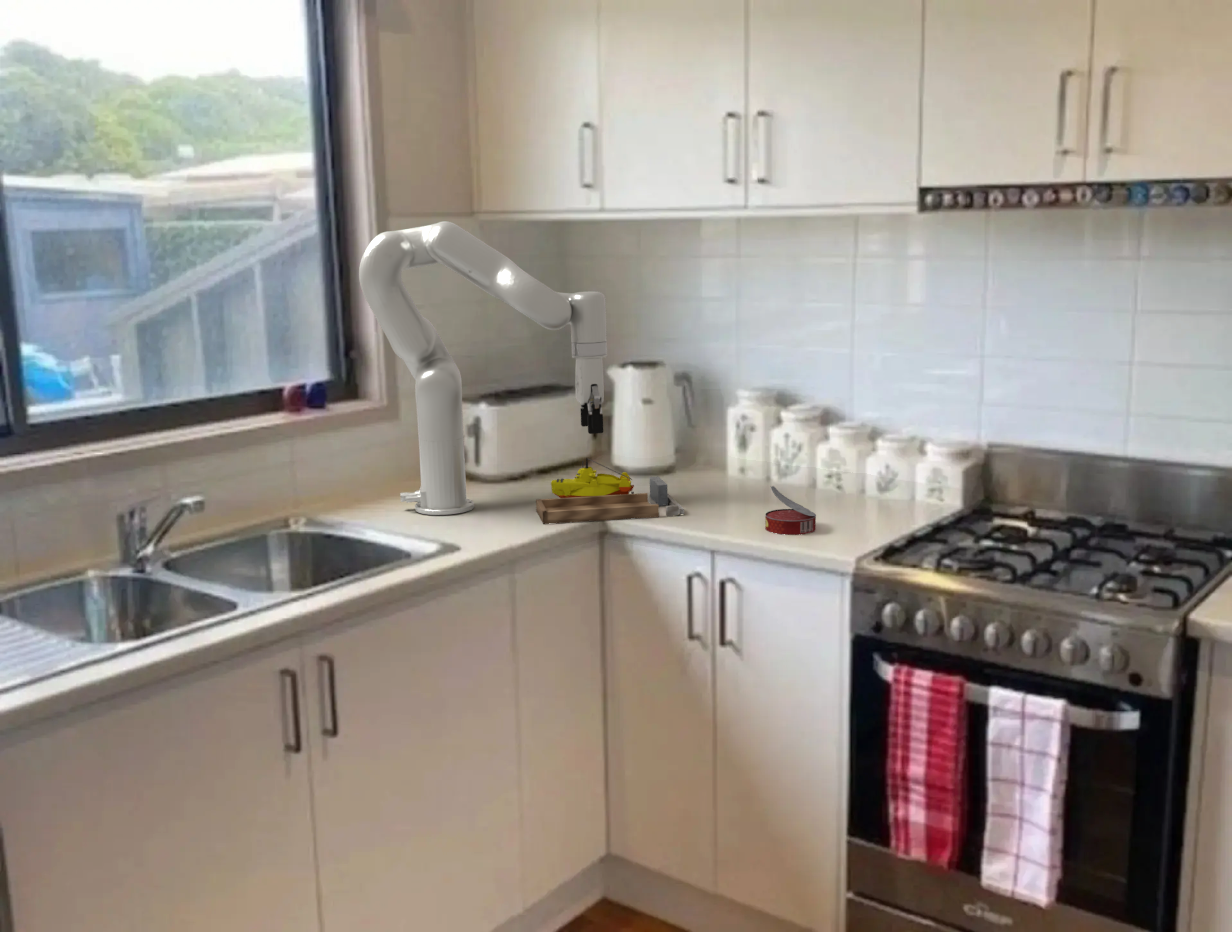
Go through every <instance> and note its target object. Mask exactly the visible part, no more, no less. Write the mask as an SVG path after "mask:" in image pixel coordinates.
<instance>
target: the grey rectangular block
mask: <svg viewBox="0 0 1232 932" xmlns="http://www.w3.org/2000/svg"><path fill="white" fill-rule="evenodd" d="M668 494H669V493H668V484H667V483H666V481H664V480H663V479H662V478H661V477H660V476H649V498H651V500H653V502H654V503H655V504H658V505H659V507H660V506H662V507H663V506H669V505H668V504H669V503H668Z"/></svg>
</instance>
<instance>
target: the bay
mask: <svg viewBox="0 0 1232 932" xmlns="http://www.w3.org/2000/svg"><path fill="white" fill-rule="evenodd" d="M648 495H649V494H648V492H641V493H640V492H639V493H634V494H631V493H629V494H620V495H604V496H587V497H570V498H560V497H558V498H556V497H555V498H540V499H539V498H537V499H535V505H536V506H535V508H536V509H535V510H536V511H535V512H536V513H537V515H538V517H539V519H540V521H541V522H542V524H543V525H550V524H549V523H556V524H571V523H570V522H572V523H586V522H603V521H615V520H616V521H617V520H632V519H631V518H635V519H648V518H659V517H660V509H659V507H660V506H659V505H658V504H656V503H655V504H651V503H649V496H648ZM668 504H669V505H665V510H666V511H665V514H666V515H667V517H673V515H680V514H684V515H685V508H684V507H683V506H682V505H681V504H679V502H677V501H676V500H675V499H674V498H673V496H671V495H670V494H669V493H668ZM666 515H665V516H666Z"/></svg>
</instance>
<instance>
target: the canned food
mask: <svg viewBox="0 0 1232 932" xmlns="http://www.w3.org/2000/svg"><path fill="white" fill-rule="evenodd" d="M770 490H771V491H772V494H774V496H775V497H776V498H777V499H778V500H779V501H780V502H781V503H782V504H784V505H785V506H786V507H788V508H779V509H772V510H770V511H767V512H766V513H765V515H764V517H765V519H764V520H765V521H764V522H765V523H764V524H765V527H764V528H765V530H766V531H767V532H769V533H771V532H773V533H772V534H775V533H777V535H782V534H785V536H800V535H801V534H802V535H806V534H811V533H813V532H815V531H816V528H817V527H816V526H817V525H816V524H817V523H816V522H817V521H816V520H817V514H816V512H813V511H811V509H809V508H806V507H805V506H803V505H801V504H799V503H797V502H796V501H793V500H792V499H790V498H789V497H786V495H784V494H783V493H781V492H780V491H779V490H778V489H777V488H776V487H775V486H774V485H772V486H770ZM799 534H800V535H799Z"/></svg>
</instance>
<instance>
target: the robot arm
mask: <svg viewBox="0 0 1232 932" xmlns="http://www.w3.org/2000/svg"><path fill="white" fill-rule="evenodd" d="M438 264H439V265H440V264H441V265H443V267H446V268H447V269H449V270H451V271H452V272H454V273H456V274H457V275H458V276H460V277H462V278H463V279H465V280H467V281H468V282H470V283H471V284H472V285H474V286H476V287H477V288H479V289H480V290H482V291H484V292H485V293H487V294H488V295H490V296H491V297H493V298H495V299H498V300H500V301H502V302H503V303H505V304H507V305H508V306H510V307H511V308H513V309H515V310H516V311H518V312H519V313H521V315H524V316H526V317H527V318H529V319H530V320H532V321H534V322H535V323H536V324H537V325H539V326H541V327H542V328H545V329H547V330H548V331H549V330H551V331H557V330H561V329H563V328H565V327H566V326H567V325H570V335H571V336H570V340H571V341H570V342H571V344H570V345H571V358H572V359H575V370H574V371H575V374H574V375H575V378H574V379H575V382H574V384H575V389H574V390H575V396H574V397H575V400H576V401H577V403H579V404H580V425H581V427H587V432H588V434H591V435H594V434H595V435H596V434H603V433H604V414H603V408H602V407H603V406H602V404H603V403H604V402H605V401H604V400H605V399H604V398H605V397H604V395H605V394H604V392H605V391H604V390H605V389H604V388H605V387H604V384H605V383H604V364H603V358H604V359H605V358H607V357H608V345H607V344H608V343H607V342H608V340H607V313H606V312H607V310H606V305H607V304H606V295H604V293H602V292H600V291H578V292H577V291H576V292H574V293H573V292H572V293H571V292H561V291H560V292H558V291H555V290H553V289H552V288H551V287H549V286H547V285H546V284H545V283H543V282H541V281H540V280H538V279H536V278H535V277H534V276H532V275H531V274H529V273H528V272H526V271H524V270H523V269H522V268H521V267H519V266H518V265H517V264H516V263H515V262H514V261H513V260H512V259H510V258H509V257H508V256H506V255H504V254H503V253H501V252H500V251H498V250H497V249H495V248H494V247H492V246H490V245H489V244H487V243H485V241H483V240H481V239H480V238H477V236H475V235H473V234H472V233H470V232H469V231H468V230H465V229H464V228H462V227H461V226H459V224H456V223H454V222H451V221H438V222H437V223H436V222H435V223H432V224H427V225H421V226H416V227H410V228H406V229H398V230H391V231H390V230H389V231H387V230H386V231H384V232H380V233H379V234H377V235H376V236H375V237H374V238H373V239H372V240H371V241H370V242H369V244H368V245H367V247H366V248H365V251H364V253H362V256H361V259H360V263H359V269H358V279H359V284H360V289H361V291H362V294H363V296H364V299H365V301H366V303H367V304H368V306H369V308H370V310H371V311H372V313H373V315H374V317H375V318H376V319H375V320H376V321H377V324H379V326H380V329H381V330H382V332H383V333H384V335H385V337H386V338H387V341H388V342H389V344H390V347H391V349H392V351H393V352H394V354H395V355H396V356H397V357H399V359H401V360H402V361H403V362H404V364H405V366H406V367H407V369H408V371H409V372H410V374H411V376H412V377H413V379H414V381H415V386H414V387H415V388H414V395H415V406H416V418H417V433H418V435H417V436H418V448H419V449H418V451H419V468H420V469H419V471H420V487H419V490H418V489H417V490H415V491H414V492H409V491H408V492H407V491H406V492H400V493H399V494H400V495H399V496H400V503H401V502H403V503H404V502H405V503H407V504H408V503H415V504H414V510H415V511H416V512H417V513H419V514H423V515H429V516H430V515H431V516H449V515H456V514H461V513H466V512H470V511H472V510H473V509H474V507H475V502H474V500H472V499H470V498H467V483H466V482H467V479H466V477H467V476H466V461H465V459H466V458H465V455H466V454H465V438H464V437H465V435H464V422H463V421H464V418H463V388H462V387H463V385H462V383H463V382H462V381H463V380H462V375H461V371H460V369H459V367H458V366H457V363H456V362H455V359H454V358H453V356H452V355H451V354H450V352H449V350H448V348H447V347H446V344H445V343H444V341H443V340H442V338H441V336H440V334H439V333H438V330H437V329H436V328H435V326H434V325H433V323H432V322H431V321H430V320H429V318H426V317H425V316H423V315H422V314H421V312H420V311H419V310H420V309H418V307H417V305H416V304H415V302H414V300H413V297H412V296H411V294H410V292H409V291H408V289H407V288H406V286H405V284H404V282H403V277H402V275H403V271H406V270H412V269H418V268H423V267H429V266H435V265H438Z"/></svg>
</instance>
